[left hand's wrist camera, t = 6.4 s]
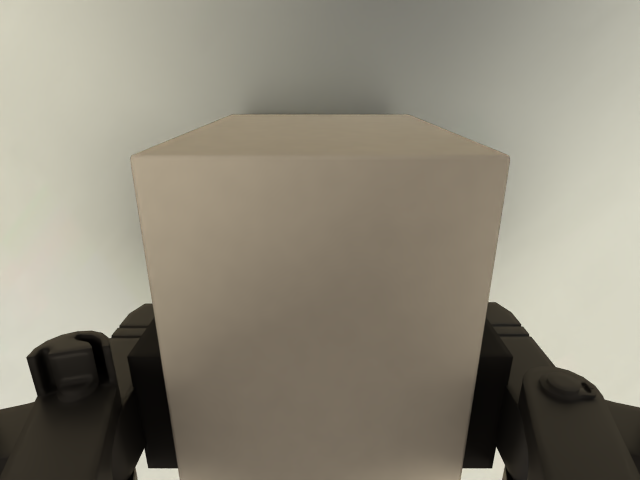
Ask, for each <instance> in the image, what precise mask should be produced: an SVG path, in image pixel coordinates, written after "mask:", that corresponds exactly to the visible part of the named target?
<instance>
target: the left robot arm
mask: <svg viewBox="0 0 640 480" xmlns="http://www.w3.org/2000/svg"><path fill="white" fill-rule="evenodd" d="M27 361H28V365H29V368H30V372H31V375H32V378H33V382H34V385H35V389H36V392H37V398H36V400H35V402H32V403H29V404H24V405H20V406H15V407H10V408H5V409H1V410H0V480H138V479H137V473H136V468H135V467H136V465H137V462H138V460H139V458H140V456H141V454H142V452H143V450H144V448H145V453H146V459H147V464H148V468H178V464H177V458H176V451H175V445H174V438H173V432H172V425H171V419H170V413H169V406H168V400H167V393H166V387H165V380H164V374H163V367H162V361H161V355H160V348H159V342H158V335H157V329H156V322H155V316H154V309H153V304H144V305H142V306H141V307H139V308H138V309H136V310H134V311H133V312H131V313H130V314H129V315H128V316H127V317H126V318H125V320H124V321H123V322H122V323H121V325H120V327H119V328H117V330H116V331H115V332H114V333H113V335H112V338H108V337H107V336H106V335H104V334H103V333H100V332H95V331H77V332H72V333H68V334H64V335H60V336H58V337H55V338H53V339H50V340H48V341H46V342H44V343H43V344H41V345H40V346H38V347H36V348H35V349H34V350H33V351H32V352H31V353H30V354H29V355H28V356H27ZM496 447H497V449H498V451H499V453H500V455H501V457H502V459H503V462H504V464H505V468H504V473H503V478H502V480H640V408H639V407H635V406H630V405H625V404H620V403H615V402H611V401H608V400H604V398H603V395H602V394H601V393H600V392H599V390H598V389H597V388H596V386H595V385H593V384H592V383H591V382H589V381H588V380H586V379H585V378H584V377H582V376H580V375H577V374H575V373H573V372H571V371H569V370H565V369H561V368H557V367H555V366H554V364H553V363H552V362H551V361H550V359H549V358H548V357H547V356H546V355H545V353H544V352H543V351H542V350H541V348H540V347H539V346H538V345H537V343H536V342H535V341H534V340H533V338H532V337H529V333H528V332H527V331H526V330H525V329H524V327H521V324H520V322H519V321H518V320H517V319H516V317H515V316H514V315H513V314H512V312H510V311H508V310H507V309H505V308H504V307H502V306H500V305H499V304H497V303H496V302H488V305H487V312H486V318H485V325H484V331H483V337H482V344H481V350H480V357H479V363H478V370H477V376H476V383H475V389H474V396H473V402H472V408H471V415H470V421H469V428H468V434H467V441H466V447H465V454H464V460H463V466H462V468H492V466H493V460H494V455H495V450H496Z"/></svg>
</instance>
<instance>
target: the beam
mask: <svg viewBox="0 0 640 480" xmlns="http://www.w3.org/2000/svg"><path fill="white" fill-rule="evenodd" d="M130 161H131V167H132V174H133V180H134V187H135V193H136V200H137V206H138V213H139V219H140V225H141V232H142V238H143V245H144V251H145V258H146V264H147V271H148V277H149V284H150V290H151V296H152V303H153V309H154V316H155V322H156V329H157V335H158V342H159V348H160V355H161V361H162V367H163V374H164V380H165V387H166V393H167V400H168V406H169V413H170V419H171V425H172V432H173V438H174V445H175V451H176V458H177V464H178V471H179V477H180V480H460V479H461V473H462V466H463V460H464V454H465V447H466V441H467V434H468V428H469V421H470V415H471V408H472V402H473V396H474V389H475V383H476V376H477V370H478V363H479V357H480V350H481V344H482V337H483V331H484V325H485V318H486V312H487V305H488V299H489V292H490V286H491V279H492V273H493V266H494V260H495V254H496V247H497V241H498V234H499V228H500V221H501V215H502V208H503V202H504V196H505V189H506V183H507V176H508V170H509V163H510V157H509V155H506V154H504V153H502V152H499V151H497V150H494V149H492V148H489V147H487V146H484V145H482V144H480V143H477V142H475V141H472V140H470V139H467V138H465V137H462V136H460V135H457V134H455V133H453V132H450V131H448V130H445V129H443V128H440V127H438V126H435V125H433V124H431V123H428V122H426V121H423V120H421V119H418V118H416V117H413V116H411V115H408V114H232V115H229V116H227V117H225V118H222V119H220V120H217V121H215V122H212V123H210V124H207V125H205V126H202V127H200V128H198V129H195V130H193V131H190V132H188V133H185V134H183V135H180V136H178V137H176V138H173V139H171V140H168V141H166V142H163V143H161V144H158V145H156V146H154V147H151V148H149V149H146V150H144V151H141V152H139V153H136V154H134V155H132V156H131V159H130Z"/></svg>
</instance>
